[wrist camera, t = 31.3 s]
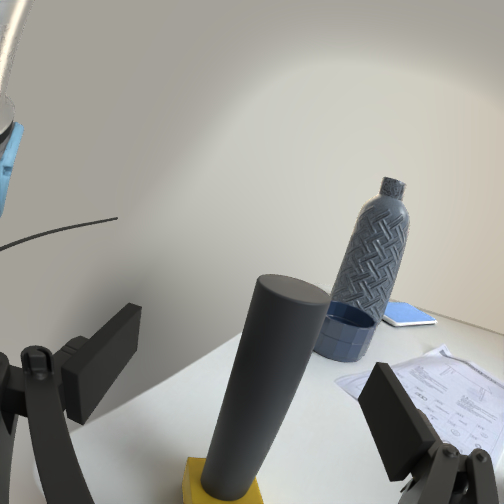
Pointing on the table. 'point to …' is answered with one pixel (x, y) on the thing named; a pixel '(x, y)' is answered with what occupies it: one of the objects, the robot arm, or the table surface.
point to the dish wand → (258, 390)
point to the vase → (374, 251)
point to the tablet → (405, 315)
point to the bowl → (345, 333)
